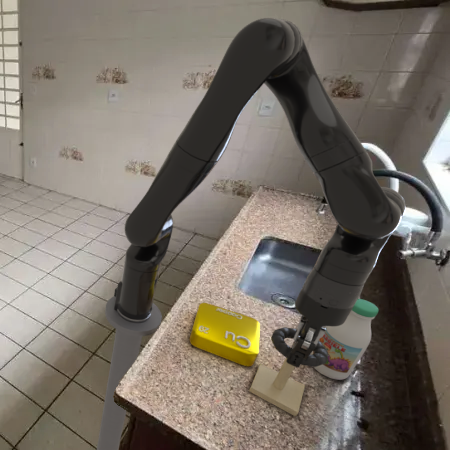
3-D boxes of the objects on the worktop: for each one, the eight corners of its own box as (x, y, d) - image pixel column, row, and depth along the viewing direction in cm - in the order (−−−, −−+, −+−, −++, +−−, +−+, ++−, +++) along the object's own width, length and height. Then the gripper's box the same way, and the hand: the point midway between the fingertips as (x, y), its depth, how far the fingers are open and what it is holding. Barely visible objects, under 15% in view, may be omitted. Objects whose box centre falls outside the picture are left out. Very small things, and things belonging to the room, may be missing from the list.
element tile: (255, 331, 96) (261, 318, 94) (253, 370, 85) (259, 356, 83) (197, 311, 103) (200, 298, 101) (187, 344, 92) (191, 331, 90)
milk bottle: (320, 351, 90) (355, 289, 81) (355, 374, 84) (397, 311, 74) (301, 360, 88) (334, 298, 78) (335, 385, 81) (376, 321, 72)
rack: (248, 391, 80) (269, 346, 73) (258, 367, 86) (278, 323, 79) (295, 416, 75) (323, 370, 68) (302, 389, 80) (328, 344, 73)
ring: (265, 350, 74) (269, 343, 73) (275, 326, 80) (278, 319, 79) (322, 377, 68) (326, 369, 67) (327, 348, 74) (332, 341, 73)
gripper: (309, 268, 70) (279, 332, 78) (296, 303, 61) (264, 370, 69) (357, 284, 65) (320, 349, 74) (352, 324, 57) (310, 393, 65)
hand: (293, 359), depth 71 cm, fingers closed on ring, 2 cm apart
